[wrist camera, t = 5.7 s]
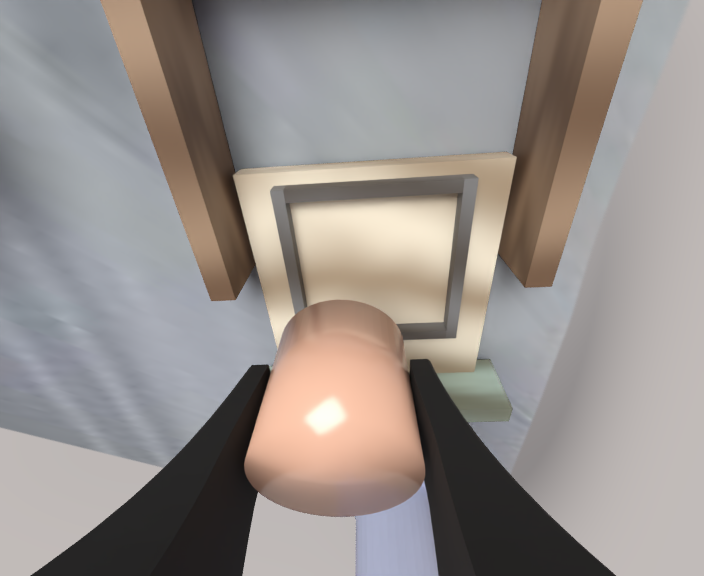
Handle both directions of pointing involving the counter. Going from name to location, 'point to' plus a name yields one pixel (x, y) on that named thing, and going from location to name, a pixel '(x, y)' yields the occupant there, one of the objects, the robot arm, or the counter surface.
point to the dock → (530, 149)
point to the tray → (390, 253)
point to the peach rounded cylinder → (337, 416)
